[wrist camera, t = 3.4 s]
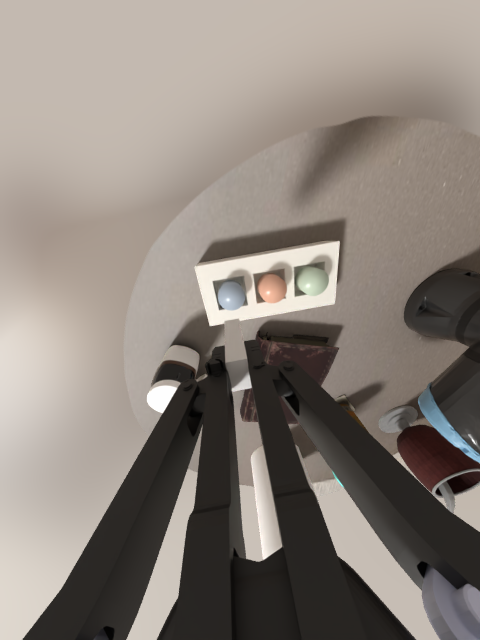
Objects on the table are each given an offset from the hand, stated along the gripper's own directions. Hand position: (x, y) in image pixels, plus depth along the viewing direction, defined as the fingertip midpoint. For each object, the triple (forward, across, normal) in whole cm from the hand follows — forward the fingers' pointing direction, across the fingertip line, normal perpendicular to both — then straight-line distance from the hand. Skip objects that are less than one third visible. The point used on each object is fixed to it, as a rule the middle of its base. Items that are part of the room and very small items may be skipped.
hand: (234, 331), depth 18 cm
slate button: (+15, 0, 0) cm, 15 cm away
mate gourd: (+18, -46, +54) cm, 73 cm away
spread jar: (+19, +13, +17) cm, 28 cm away
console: (+19, -7, 0) cm, 20 cm away
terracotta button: (+15, -7, 0) cm, 17 cm away
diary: (+19, -9, +26) cm, 33 cm away
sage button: (+15, -14, 0) cm, 21 cm away
